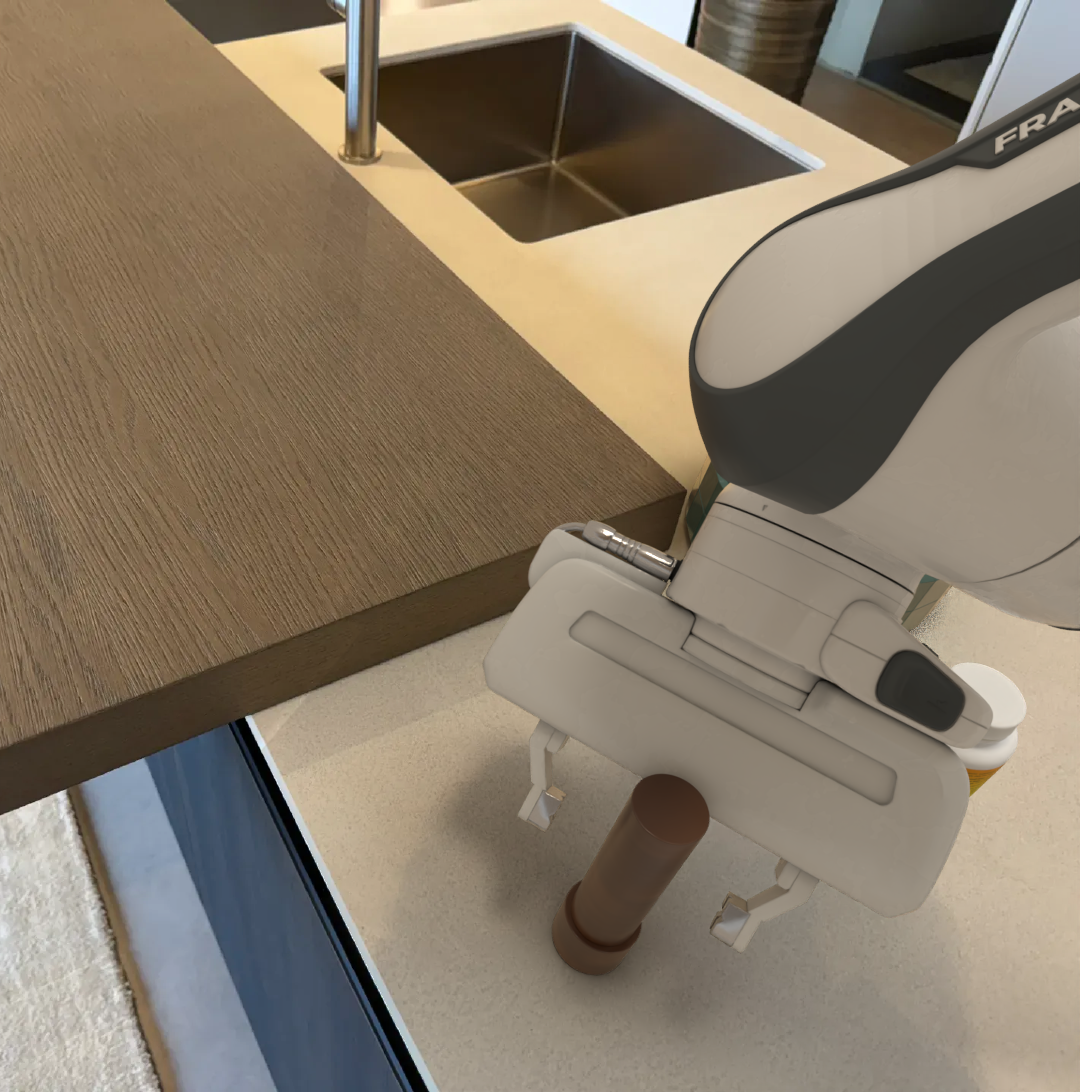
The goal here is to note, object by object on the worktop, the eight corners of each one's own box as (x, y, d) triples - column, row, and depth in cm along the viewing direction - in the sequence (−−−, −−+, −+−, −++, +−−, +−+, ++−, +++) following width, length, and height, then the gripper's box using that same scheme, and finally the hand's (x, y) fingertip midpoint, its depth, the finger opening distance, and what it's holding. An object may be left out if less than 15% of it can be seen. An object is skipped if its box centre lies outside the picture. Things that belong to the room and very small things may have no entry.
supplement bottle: (961, 801, 59) (1065, 704, 52) (910, 856, 57) (1011, 762, 49) (877, 733, 62) (964, 631, 54) (824, 783, 59) (907, 683, 52)
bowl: (959, 530, 74) (1008, 465, 69) (900, 692, 64) (952, 630, 59) (732, 430, 80) (763, 363, 75) (645, 565, 70) (674, 499, 65)
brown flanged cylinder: (637, 928, 53) (730, 798, 43) (607, 990, 51) (697, 870, 40) (571, 886, 54) (646, 750, 44) (538, 946, 52) (609, 817, 42)
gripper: (551, 496, 45) (409, 768, 47) (1039, 737, 38) (854, 1045, 40) (571, 507, 51) (445, 749, 53) (998, 718, 44) (838, 987, 46)
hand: (625, 879), depth 46 cm, fingers open, 8 cm apart
